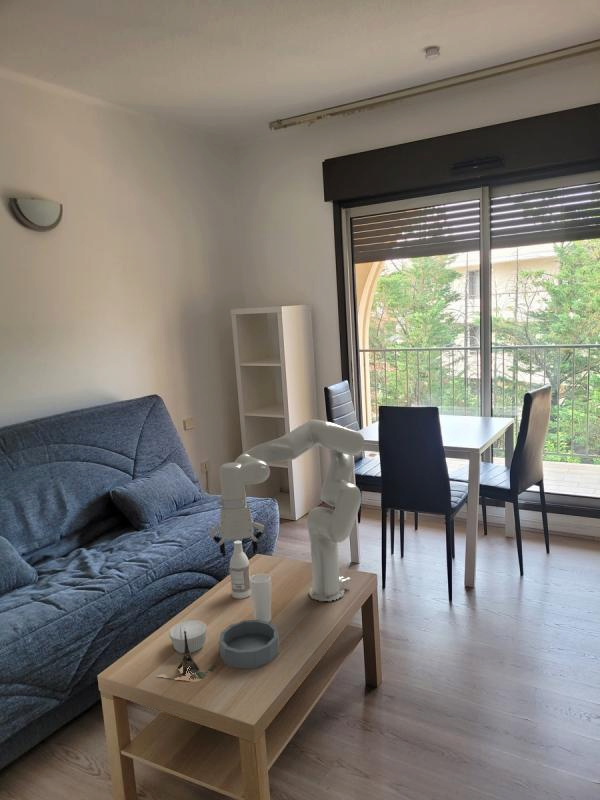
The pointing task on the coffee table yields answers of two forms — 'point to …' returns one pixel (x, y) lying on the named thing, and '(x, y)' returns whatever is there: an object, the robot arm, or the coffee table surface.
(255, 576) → the drinking glass
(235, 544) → the bath foam
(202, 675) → the eiffel tower figurine
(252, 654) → the bowl
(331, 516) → the robot arm
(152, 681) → the coffee table surface
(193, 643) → the ramekin
